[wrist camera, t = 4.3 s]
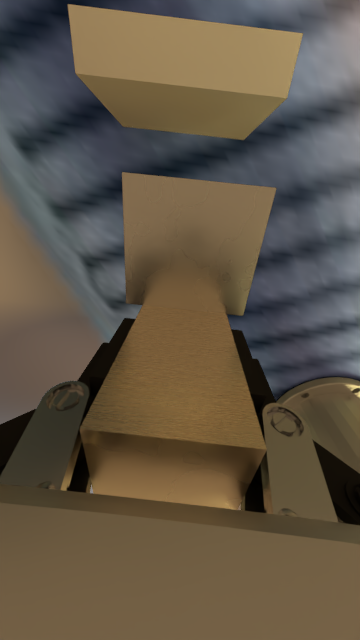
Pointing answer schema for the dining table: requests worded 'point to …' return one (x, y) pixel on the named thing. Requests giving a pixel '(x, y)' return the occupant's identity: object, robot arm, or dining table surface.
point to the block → (182, 70)
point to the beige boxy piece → (181, 347)
